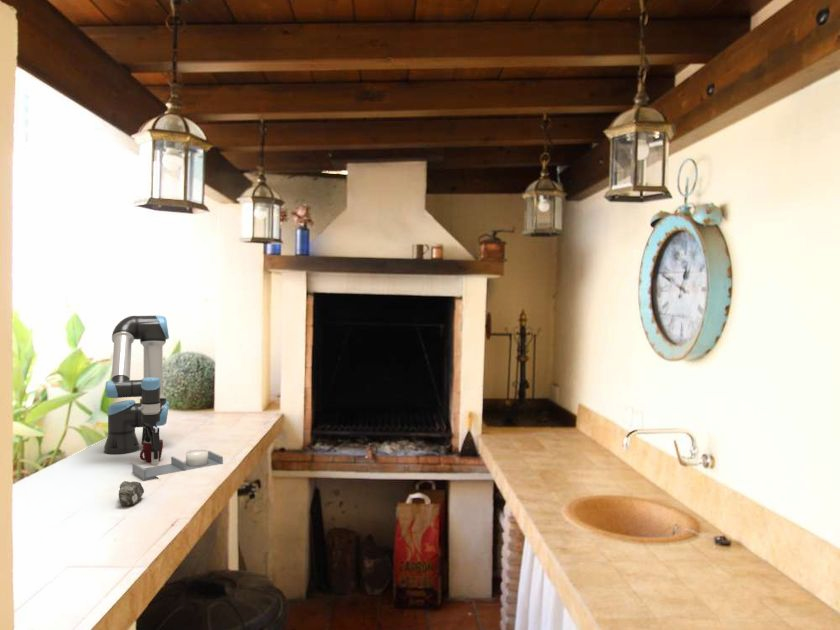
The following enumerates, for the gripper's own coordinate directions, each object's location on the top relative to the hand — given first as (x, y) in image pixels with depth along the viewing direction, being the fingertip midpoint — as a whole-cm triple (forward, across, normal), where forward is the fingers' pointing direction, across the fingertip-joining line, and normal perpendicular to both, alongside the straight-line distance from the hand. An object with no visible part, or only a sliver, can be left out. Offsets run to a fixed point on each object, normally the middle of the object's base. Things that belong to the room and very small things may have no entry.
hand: (150, 463), depth 270 cm
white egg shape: (-1, +16, +14) cm, 21 cm away
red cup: (0, 0, 0) cm, 0 cm away
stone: (+1, +45, -22) cm, 50 cm away
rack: (0, +16, +6) cm, 17 cm away
